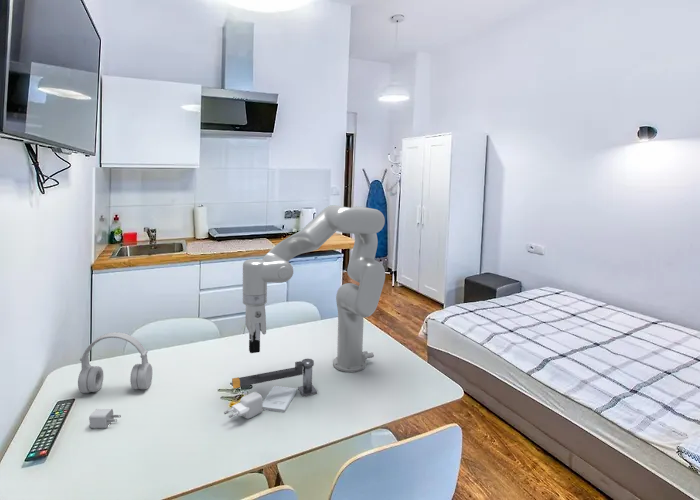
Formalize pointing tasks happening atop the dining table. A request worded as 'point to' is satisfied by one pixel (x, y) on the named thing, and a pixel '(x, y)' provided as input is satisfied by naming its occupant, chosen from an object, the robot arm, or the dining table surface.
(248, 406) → the power adapter
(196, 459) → the dining table surface
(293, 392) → the external hard drive
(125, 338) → the headphones
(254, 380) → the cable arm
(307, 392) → the post
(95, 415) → the usb wall charger
